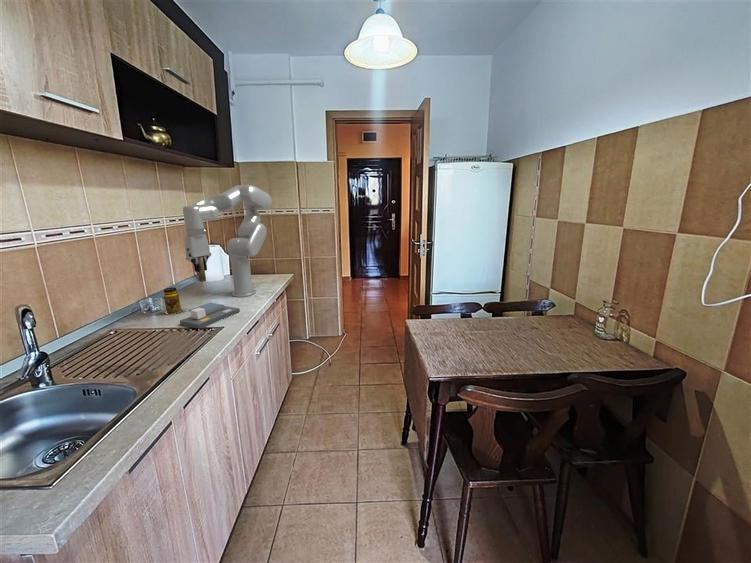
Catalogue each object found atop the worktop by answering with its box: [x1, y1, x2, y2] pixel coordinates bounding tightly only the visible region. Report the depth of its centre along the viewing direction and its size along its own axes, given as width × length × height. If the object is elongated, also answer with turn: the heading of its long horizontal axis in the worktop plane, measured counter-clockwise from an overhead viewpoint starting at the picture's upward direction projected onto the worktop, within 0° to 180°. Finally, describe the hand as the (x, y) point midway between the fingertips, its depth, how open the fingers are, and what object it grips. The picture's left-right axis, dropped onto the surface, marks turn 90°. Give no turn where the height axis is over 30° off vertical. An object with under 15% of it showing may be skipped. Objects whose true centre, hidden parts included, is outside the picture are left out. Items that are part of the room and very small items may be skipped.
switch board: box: [179, 304, 241, 330], centre depth 153 cm, size 22×12×2 cm, turn 155°
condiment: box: [163, 286, 186, 315], centre depth 162 cm, size 7×8×12 cm
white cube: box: [190, 307, 206, 319], centre depth 148 cm, size 4×4×4 cm
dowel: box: [197, 256, 207, 283], centre depth 162 cm, size 3×3×14 cm
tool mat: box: [188, 302, 225, 312], centre depth 167 cm, size 12×10×1 cm
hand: (201, 270), depth 162 cm, fingers closed on dowel, 3 cm apart
